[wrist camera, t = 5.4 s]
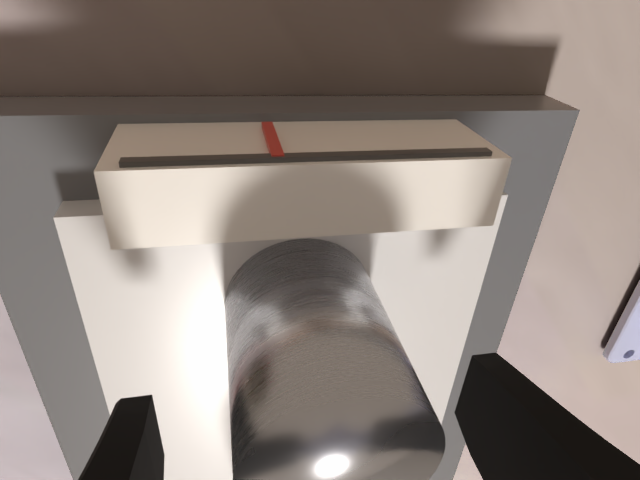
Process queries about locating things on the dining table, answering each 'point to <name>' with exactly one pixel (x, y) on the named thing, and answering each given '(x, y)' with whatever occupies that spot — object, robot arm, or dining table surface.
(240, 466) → the cylinder
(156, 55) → the dining table surface
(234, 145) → the scale
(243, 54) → the dining table surface
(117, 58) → the dining table surface
